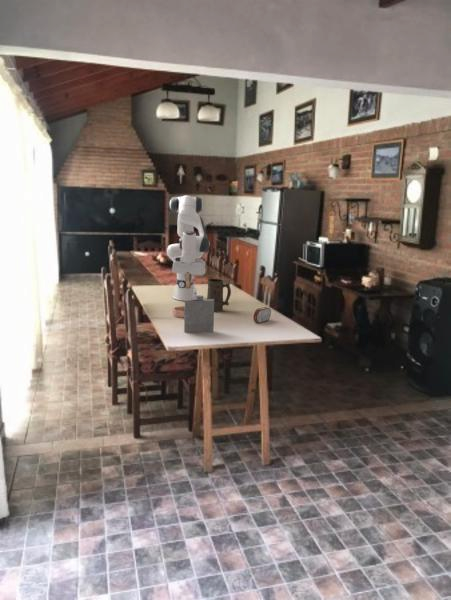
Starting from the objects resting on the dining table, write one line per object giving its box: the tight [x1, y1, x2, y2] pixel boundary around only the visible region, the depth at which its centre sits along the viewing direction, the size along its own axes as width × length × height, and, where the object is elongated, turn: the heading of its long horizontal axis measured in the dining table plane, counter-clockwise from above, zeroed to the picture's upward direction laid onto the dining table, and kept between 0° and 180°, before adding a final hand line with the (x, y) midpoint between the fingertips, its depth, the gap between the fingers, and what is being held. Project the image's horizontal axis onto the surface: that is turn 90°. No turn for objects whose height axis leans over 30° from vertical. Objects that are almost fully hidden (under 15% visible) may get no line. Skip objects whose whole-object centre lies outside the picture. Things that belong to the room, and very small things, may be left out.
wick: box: [186, 272, 191, 289], centre depth 300 cm, size 4×2×10 cm, turn 164°
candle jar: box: [171, 305, 185, 319], centre depth 304 cm, size 13×13×4 cm
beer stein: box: [206, 278, 232, 313], centre depth 319 cm, size 15×11×20 cm
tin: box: [252, 306, 272, 324], centre depth 294 cm, size 15×3×8 cm, turn 141°
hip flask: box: [183, 294, 215, 334], centre depth 266 cm, size 16×4×20 cm, turn 103°
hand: (188, 281), depth 300 cm, fingers closed on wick, 2 cm apart
